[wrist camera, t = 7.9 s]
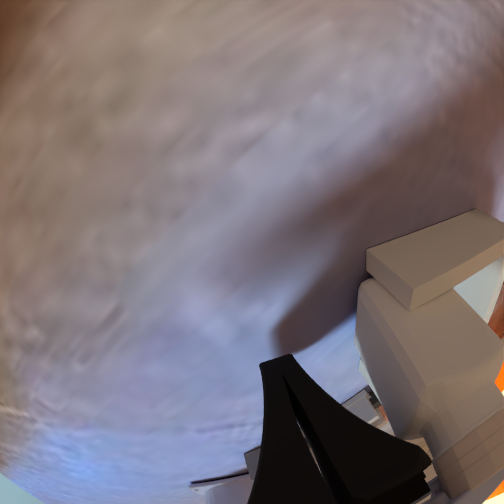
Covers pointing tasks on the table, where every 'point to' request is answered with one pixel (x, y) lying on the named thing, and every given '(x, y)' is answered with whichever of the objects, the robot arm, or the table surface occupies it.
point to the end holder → (443, 264)
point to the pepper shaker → (436, 380)
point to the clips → (362, 411)
